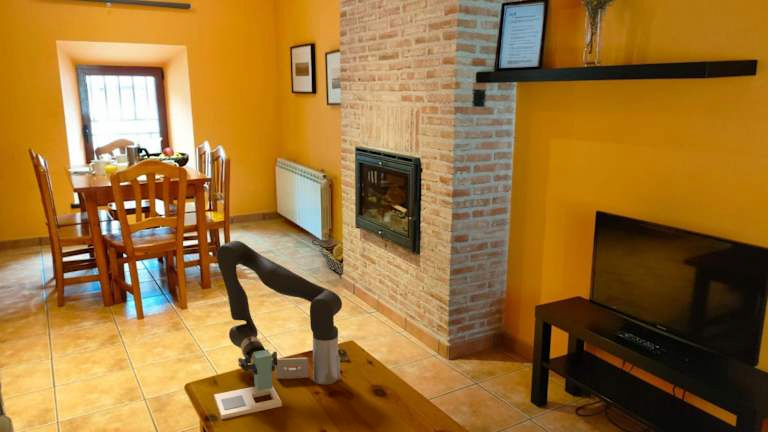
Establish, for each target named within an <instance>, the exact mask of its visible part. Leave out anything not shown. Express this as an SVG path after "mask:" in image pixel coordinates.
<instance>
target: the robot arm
mask: <svg viewBox="0 0 768 432" xmlns="http://www.w3.org/2000/svg"><path fill="white" fill-rule="evenodd" d="M215 255H216V260H217V261H216V262H217V264H218V267H219V271H220V273H221V277H222V281H223V283H224V286H225V289H226V293H227V297H228V298H227V299H228V304H229V310H230V311H229V312H230V317H231V319H232V320H234V321H243V322H245V323H242V324H238V325H234V326H232V327H231V328H230V329H229V332H228V335H229V336H228V337H229V339H230V342H231V343H232V344H233V345H234V346H236V347H238V348H239V349H240V350H241V353H242V356H243V357H244V358H242V357H239V358H237V359H238V360H237V362H238V366H239V367H240V368H241V369H242V370H243V371H244V372H248V371H250V372H251V373H252V374H253V375H254V374H255V375H257V368H256V366H255V364H254V361H253V352H256V351H262V350H266V348H265V347H264V345H263V344H262V342H261V340H260V339H258V335H259V333H258V332H259V331H258V329H257V326H256V324H255V323H254V320H253V317H252V314H251V311H250V305H249V299H248V295H247V293H246V291H245V289H244V287H243V285H242V284H241V283H240V280H239V278H238V271H237V266H238V265H241V266H244V267H246V268H248V269H250V270H251V271H253V272H254V273H255V274H256V275H257V277H258V278H259V280H260V281H261V282H262V284H264V286H265V287H267V288H269V289H271V290H272V291H273V292H276V293H278V294H280V295H283V296H288V297H293V298H300V299H303V300H305V301H308V302H309V303H310V306H309V322H310V329H311V331H312V379H313V381H314V383H316V384H318V385H332V384H334V383H336V382H337V381H340V379H341V369H340V368H341V362H340V356H339V355H338V349H339V328H338V327H337V326H336V325H334V324H335V322H334V317H335V316H336V315H337V314H338V313H339V312H340V311H341V310H342V307H343V302H342V299H341V297H340V296H339V294H337V293H336V292H334V291H333V290H331V289H328V288H326V287H324V286H320V285H318V284H316V283H314V282H311V281H309V280H308V279H306V278H303V277H302V276H300V275H299V274H296V273H295V272H293V271H291V270H290V269H288V268H286V267H285V266H282V265H280V264H278V263H277V262H274V261H273V260H271V259H269V258H267V257H266V256H264V255H261V254H260V253H259V252H257V251H256V250H254V249H253V248H251V247H250V246H248V245H247V244H245V243H244V242H242V241H239V240H233V241H229V242H227V243H224V244H222V245H220V246H219V247H218V248H217V250H216V254H215ZM277 353H278V351H273V352H272V353H270V354H271V360H272V372H274V371H276V365H277V359H278V354H277Z"/></svg>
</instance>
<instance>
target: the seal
mask: <svg viewBox="0 0 768 432" xmlns="http://www.w3.org/2000/svg"><path fill="white" fill-rule="evenodd" d="M338 355H339V356H340V363H341V362H344V361H348V360H349V355H348V351H347V349H346V348H338Z"/></svg>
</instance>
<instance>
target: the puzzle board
mask: <svg viewBox="0 0 768 432" xmlns="http://www.w3.org/2000/svg"><path fill="white" fill-rule="evenodd" d="M272 387H273V388H270V389H265V390H260V391H258V390H257V388H256V386H255V385H254V386H251V387H246V388H240V389H235V390H230V391H226V392H220V393H215V394H213V399H214V402H215V405H216V407H217V411H218V412H219V416H220V418H221V420H225V419H228V418H229V419H230V418H233V417H238V416H242V415H247V414H252V413H256V412H260V411H266V410H270V409H274V408H275V409H276V408H279V407H283V403H282V400H281V398H280V397H279V395H278V393H277V391H276V389H275V388H274V386H273V385H272ZM268 395H270V397H271V399H269V400H265V401H260V402H256V401H255V399H254V398H258V397H262V396H268Z"/></svg>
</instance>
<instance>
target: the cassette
mask: <svg viewBox="0 0 768 432" xmlns="http://www.w3.org/2000/svg"><path fill="white" fill-rule="evenodd" d="M275 378H276V380H277V379H279V380H280V379H281V380H284V379H285V380H287V379H289V380H290V379H303V378H309V358H308V357H290V358H277V365H275Z"/></svg>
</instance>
